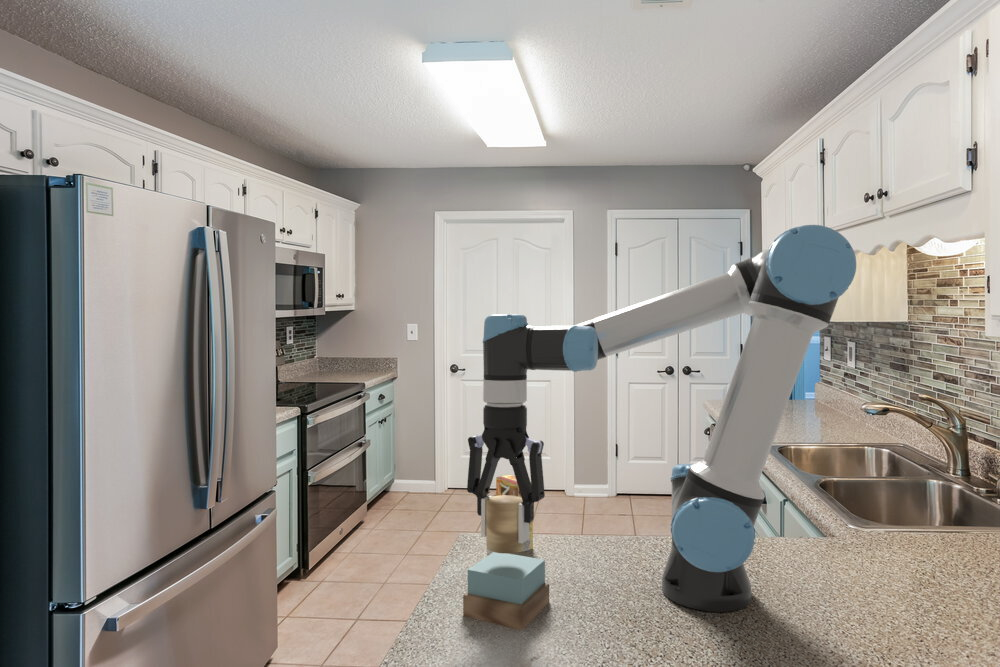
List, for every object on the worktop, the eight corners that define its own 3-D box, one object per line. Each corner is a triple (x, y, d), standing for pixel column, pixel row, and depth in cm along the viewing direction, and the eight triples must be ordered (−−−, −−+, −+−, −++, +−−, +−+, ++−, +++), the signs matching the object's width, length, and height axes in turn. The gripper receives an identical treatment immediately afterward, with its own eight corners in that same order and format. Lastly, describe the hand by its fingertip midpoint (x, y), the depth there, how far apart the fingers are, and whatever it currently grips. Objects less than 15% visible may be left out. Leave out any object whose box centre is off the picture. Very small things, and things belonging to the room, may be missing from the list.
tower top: (545, 582, 109) (544, 559, 109) (521, 604, 100) (521, 579, 100) (494, 573, 113) (494, 551, 113) (467, 593, 104) (467, 569, 104)
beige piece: (530, 543, 108) (530, 498, 107) (513, 555, 102) (513, 507, 102) (497, 538, 111) (497, 493, 110) (479, 549, 105) (479, 502, 105)
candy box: (533, 552, 134) (533, 481, 134) (518, 556, 132) (517, 484, 132) (511, 540, 141) (510, 474, 141) (495, 544, 139) (495, 476, 139)
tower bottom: (549, 606, 108) (549, 583, 108) (521, 633, 99) (521, 608, 99) (494, 594, 113) (494, 572, 113) (463, 618, 104) (463, 594, 104)
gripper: (565, 404, 105) (565, 539, 105) (467, 399, 114) (467, 523, 114) (548, 409, 98) (548, 553, 98) (445, 403, 107) (445, 535, 107)
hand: (505, 537), depth 106 cm, fingers closed on beige piece, 6 cm apart
